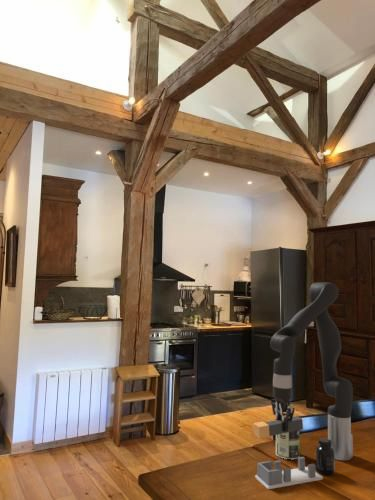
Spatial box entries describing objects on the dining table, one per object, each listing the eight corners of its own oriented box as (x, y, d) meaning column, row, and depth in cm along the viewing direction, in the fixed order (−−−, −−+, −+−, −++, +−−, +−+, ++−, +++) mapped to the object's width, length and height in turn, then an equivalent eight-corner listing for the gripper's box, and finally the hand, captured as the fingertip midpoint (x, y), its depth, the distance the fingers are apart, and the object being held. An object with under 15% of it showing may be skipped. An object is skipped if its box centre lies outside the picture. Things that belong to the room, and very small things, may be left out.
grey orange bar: (297, 425, 159) (296, 414, 160) (303, 429, 155) (302, 418, 155) (253, 434, 152) (253, 423, 153) (259, 438, 148) (258, 427, 149)
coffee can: (298, 451, 170) (298, 418, 172) (300, 461, 160) (300, 426, 162) (274, 448, 172) (275, 415, 174) (275, 458, 162) (275, 423, 164)
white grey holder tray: (307, 468, 154) (307, 454, 154) (322, 479, 145) (322, 464, 146) (254, 477, 145) (255, 462, 146) (268, 489, 137) (268, 473, 137)
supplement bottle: (334, 469, 153) (334, 438, 154) (335, 477, 147) (334, 444, 148) (316, 466, 156) (316, 435, 157) (316, 474, 149) (315, 442, 150)
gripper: (300, 389, 151) (300, 435, 149) (280, 380, 164) (280, 422, 162) (284, 390, 148) (284, 437, 146) (265, 381, 161) (264, 424, 160)
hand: (282, 429), depth 154 cm, fingers closed on grey orange bar, 3 cm apart
